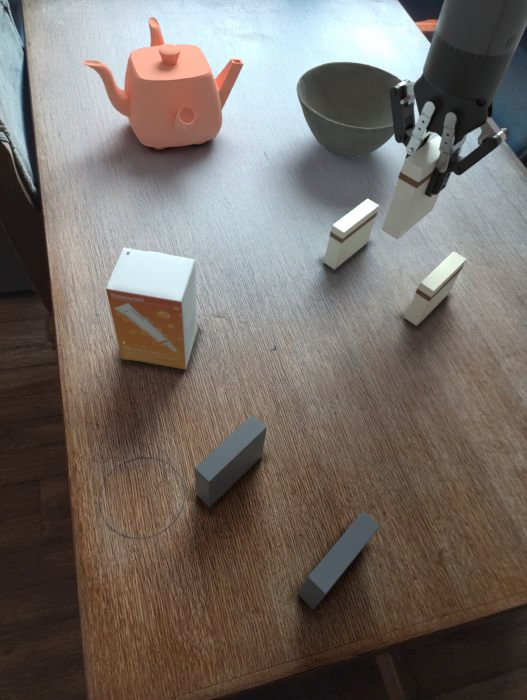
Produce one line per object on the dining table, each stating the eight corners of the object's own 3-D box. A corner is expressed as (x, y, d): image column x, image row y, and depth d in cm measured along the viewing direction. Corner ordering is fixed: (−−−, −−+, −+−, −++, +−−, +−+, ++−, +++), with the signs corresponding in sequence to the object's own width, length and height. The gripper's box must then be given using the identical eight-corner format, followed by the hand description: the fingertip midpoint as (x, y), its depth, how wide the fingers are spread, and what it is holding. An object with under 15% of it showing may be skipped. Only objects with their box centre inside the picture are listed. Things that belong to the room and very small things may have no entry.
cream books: (448, 294, 76) (467, 259, 70) (416, 326, 72) (434, 291, 66) (356, 235, 81) (367, 198, 76) (323, 262, 77) (331, 225, 72)
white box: (433, 210, 69) (462, 140, 61) (397, 240, 65) (423, 170, 57) (416, 200, 70) (443, 130, 62) (380, 229, 66) (404, 159, 58)
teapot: (96, 140, 90) (80, 55, 79) (157, 90, 100) (150, 8, 89) (192, 177, 86) (189, 94, 75) (245, 121, 96) (249, 40, 85)
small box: (121, 360, 65) (103, 288, 55) (136, 319, 69) (122, 245, 58) (187, 371, 65) (181, 301, 55) (198, 330, 69) (196, 257, 58)
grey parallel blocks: (363, 547, 55) (380, 525, 49) (313, 610, 51) (325, 594, 45) (249, 444, 60) (252, 414, 55) (196, 494, 57) (194, 467, 51)
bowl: (297, 109, 100) (304, 53, 91) (398, 126, 99) (415, 71, 91) (281, 171, 89) (288, 114, 81) (395, 190, 88) (414, 135, 80)
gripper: (566, 48, 49) (487, 201, 63) (435, -7, 54) (389, 146, 68) (528, 76, 45) (454, 232, 60) (392, 14, 50) (353, 172, 64)
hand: (419, 186), depth 64 cm, fingers closed on white box, 2 cm apart
